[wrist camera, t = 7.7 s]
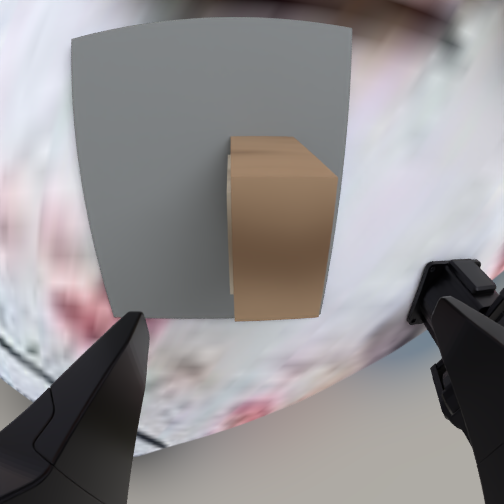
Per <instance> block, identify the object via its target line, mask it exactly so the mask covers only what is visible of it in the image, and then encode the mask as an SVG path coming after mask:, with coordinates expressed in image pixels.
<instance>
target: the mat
mask: <svg viewBox="0 0 504 504" xmlns="http://www.w3.org/2000/svg"><path fill="white" fill-rule="evenodd" d="M351 54H352V28H348V27H342V26H336V25H330V24H323V23H316V22H308V21H299V20H288V19H275V18H253V17H216V18H195V19H181V20H171V21H162V22H153V23H146V24H140V25H133V26H127V27H122V28H117V29H112V30H107V31H102V32H98V33H93V34H89V35H85V36H81V37H78V38H74V39H72V42H71V71H72V97H73V113H74V125H75V135H76V144H77V153H78V160H79V168H80V174H81V181H82V187H83V193H84V199H85V204H86V209H87V214H88V219H89V224H90V229H91V233H92V238H93V242H94V247H95V251H96V255H97V259H98V263H99V267H100V270H101V274H102V278H103V282H104V285H105V289H106V292H107V295H108V299H109V302H110V305H111V309H112V312H113V315H114V317H123V316H124V315H125V314H126V313H127V312H129V311H141V312H143V314H144V316H145V318H235V315H234V294H230V278H229V252H228V222H227V166H228V155H231V136H287V137H294V138H295V139H297V140H298V141H299V142H300V143H301V144H302V145H303V146H305V147H306V148H307V149H308V150H309V151H310V152H311V153H312V154H313V155H315V156H316V157H317V158H318V159H319V160H320V161H321V162H322V163H323V164H324V165H325V166H327V167H328V168H329V169H330V170H331V171H332V172H333V173H334V174H335V175H336V176H337V177H338V184H337V193H336V202H335V211H334V219H333V227H332V234H331V241H330V249H329V255H328V262H327V269H326V275H325V281H324V288H323V294H322V299H321V305H320V311H319V315H320V314H321V309H322V304H323V298H324V293H325V288H326V282H327V276H328V271H329V265H330V259H331V253H332V247H333V240H334V234H335V227H336V220H337V213H338V206H339V198H340V190H341V182H342V173H343V164H344V155H345V145H346V134H347V122H348V110H349V95H350V77H351Z"/></svg>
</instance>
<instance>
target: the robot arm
mask: <svg viewBox="0 0 504 504" xmlns="http://www.w3.org/2000/svg"><path fill="white" fill-rule="evenodd" d="M480 266H481V263H480V262H479V261H478V260H477V259H476V260H471V259H457V260H450V261H432V262H430V263H428V264H427V266H426V268H425V272H424V275H423V277H422V280H421V283H420V286H419V289H418V292H417V294H416V297H415V300H414V303H413V305H412V308H411V310H410V313H409V316H408V318H407V321H408V323H409V324H410V325H414V324H421V323H424V325H425V327H426V328H427V330H428V331H429V333H430V334H431V336H432V338H433V339H434V341H435V343H436V344H437V346H438V347H439V349H440V353H441V356H442V359H441V360H440V361H439V362H438V363H437V364H434V365H433V366H432V367H431V368H430V369H431V372H432V376H433V381H434V384H435V387H436V391H437V395H438V398H439V402H440V406H441V409H442V412H443V414H444V416H445V418H446V419H448V420H450V422H451V423H452V424H453V425H454V426H456V427H457V428H459V429H461V430H462V431H463V432H464V434H465V435H466V437H467V439H468V440H469V443H470V444H471V446H472V448H473V452H474V456H475V459H476V463H477V468H478V472H479V477H480V480H481V485H482V490H483V495H484V500H485V504H504V288H503V289H502V290H501V292H500V295H499V294H498V293H497V292H496V291H495V289H496V285H495V283H494V282H493V281H492V280H491V279H490V278H489V277H488V276H487V275H486V274H485V273H484V272H483V271H482V270H481V269H480ZM431 268H432V269H431ZM148 350H149V331H148V327H147V324H146V320H145V316H144V314H143V312H141V311H129V312H127V313H126V314H125V315H124V316H123V317H122V318H121V319H120V320H119V321H117V322H116V323H115V324H114V325H113V326H112V327H111V328H110V329H109V330H108V331H107V332H106V333H105V334H104V335H103V336H101V337H100V338H99V339H98V340H97V341H96V342H95V343H94V344H93V345H92V346H91V347H90V348H89V349H88V350H87V351H86V352H85V353H84V354H83V355H82V356H81V357H80V358H78V359H77V360H76V361H75V362H74V363H73V364H72V365H71V366H70V367H69V368H68V369H67V370H66V371H65V372H64V373H63V374H62V375H61V376H60V377H59V378H58V379H57V380H56V381H55V382H54V383H53V384H52V385H51V386H50V388H48V389H47V390H46V391H45V392H44V393H43V394H42V395H41V396H40V397H39V398H38V399H37V400H36V401H35V402H34V403H33V404H32V405H30V406H29V407H28V408H27V409H26V410H25V411H24V412H23V413H22V414H21V415H19V416H18V417H17V418H16V419H15V420H14V421H12V422H11V423H10V424H9V425H8V426H6V427H5V428H4V429H3V430H2V431H0V504H127V496H128V488H129V481H130V474H131V467H132V460H133V454H134V447H135V441H136V435H137V429H138V424H139V418H140V413H141V407H142V402H143V397H144V391H145V384H146V372H147V360H148Z"/></svg>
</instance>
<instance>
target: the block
mask: <svg viewBox="0 0 504 504" xmlns="http://www.w3.org/2000/svg"><path fill="white" fill-rule="evenodd" d="M337 184H338V177H337V176H336V175H335V174H334V173H333V172H332V171H331V170H330V169H329V168H328V167H327V166H325V165H324V164H323V163H322V162H321V161H320V160H319V159H318V158H317V157H316V156H315V155H313V154H312V153H311V152H310V151H309V150H308V149H307V148H306V147H305V146H303V145H302V144H301V143H300V142H299V141H298V140H297V139H295V138H294V137H287V136H231V155H228V166H227V222H228V252H229V278H230V294H234V315H235V321H262V320H282V319H299V318H314V317H318V316H319V311H320V305H321V299H322V294H323V288H324V281H325V275H326V269H327V262H328V255H329V249H330V241H331V234H332V227H333V219H334V211H335V202H336V193H337Z"/></svg>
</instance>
